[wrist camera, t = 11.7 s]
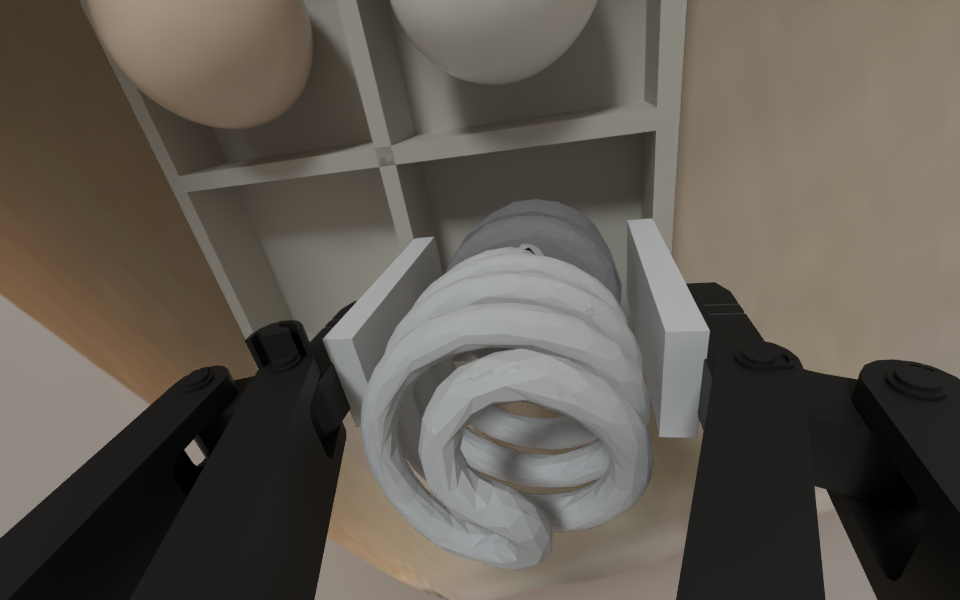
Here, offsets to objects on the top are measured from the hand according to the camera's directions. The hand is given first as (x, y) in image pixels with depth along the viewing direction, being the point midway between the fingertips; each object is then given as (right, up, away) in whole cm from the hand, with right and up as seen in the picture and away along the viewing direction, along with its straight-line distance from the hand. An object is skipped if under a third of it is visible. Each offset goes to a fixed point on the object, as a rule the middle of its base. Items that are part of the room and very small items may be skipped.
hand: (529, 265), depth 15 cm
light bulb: (+1, +1, +2) cm, 3 cm away
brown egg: (-9, +8, 0) cm, 12 cm away
